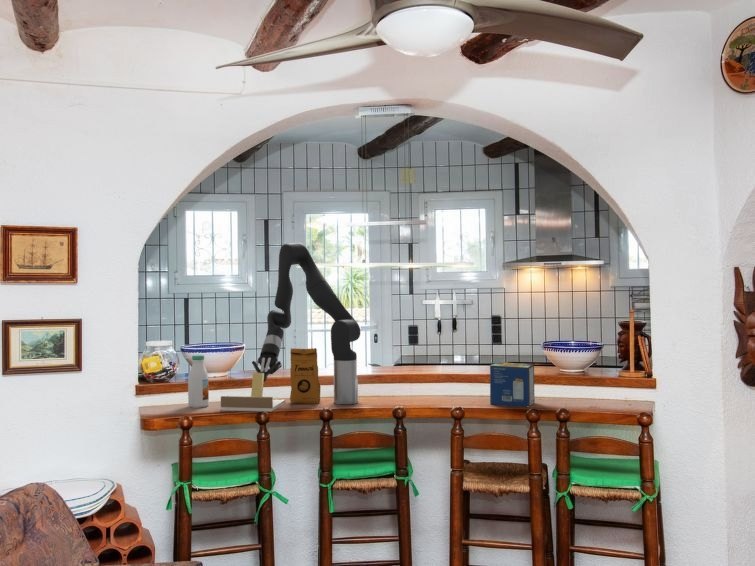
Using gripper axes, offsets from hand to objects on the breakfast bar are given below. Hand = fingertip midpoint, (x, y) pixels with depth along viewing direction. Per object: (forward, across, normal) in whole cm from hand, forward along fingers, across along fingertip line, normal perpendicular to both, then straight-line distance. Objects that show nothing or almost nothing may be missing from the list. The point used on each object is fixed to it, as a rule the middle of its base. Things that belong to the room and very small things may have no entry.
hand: (262, 381), depth 265 cm
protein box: (+1, +100, +11) cm, 101 cm away
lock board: (+13, 0, -1) cm, 13 cm away
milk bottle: (+15, -22, -2) cm, 27 cm away
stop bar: (+9, 0, -1) cm, 9 cm away
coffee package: (+6, +18, +6) cm, 20 cm away
